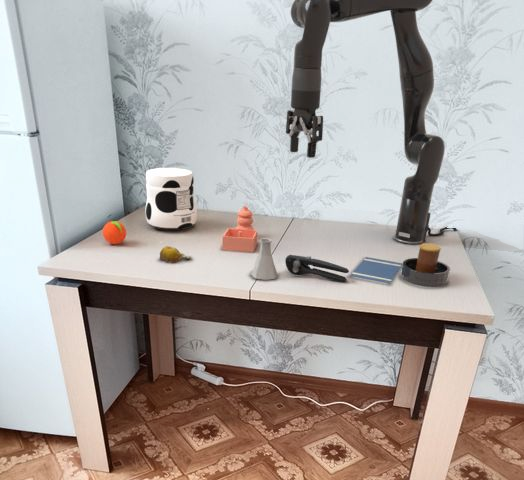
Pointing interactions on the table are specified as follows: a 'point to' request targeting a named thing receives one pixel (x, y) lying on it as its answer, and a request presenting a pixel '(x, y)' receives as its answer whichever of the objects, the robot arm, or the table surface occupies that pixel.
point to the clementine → (114, 232)
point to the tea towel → (376, 270)
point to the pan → (424, 274)
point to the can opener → (300, 267)
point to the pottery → (241, 233)
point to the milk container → (170, 198)
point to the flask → (264, 262)
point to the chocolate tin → (427, 258)
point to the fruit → (171, 254)
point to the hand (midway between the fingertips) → (302, 154)
